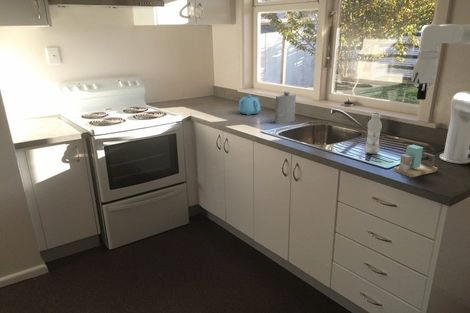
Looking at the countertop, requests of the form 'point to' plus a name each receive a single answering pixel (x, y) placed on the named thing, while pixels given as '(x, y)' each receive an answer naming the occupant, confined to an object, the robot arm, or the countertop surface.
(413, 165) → the sleeve
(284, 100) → the hip flask
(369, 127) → the plastic bottle
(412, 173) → the cord board
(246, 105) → the decorative pot
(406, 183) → the countertop surface
